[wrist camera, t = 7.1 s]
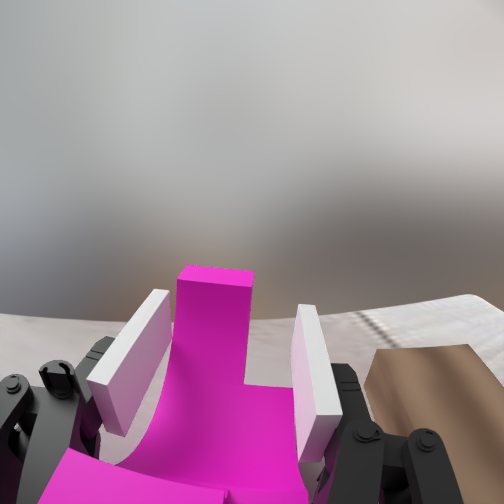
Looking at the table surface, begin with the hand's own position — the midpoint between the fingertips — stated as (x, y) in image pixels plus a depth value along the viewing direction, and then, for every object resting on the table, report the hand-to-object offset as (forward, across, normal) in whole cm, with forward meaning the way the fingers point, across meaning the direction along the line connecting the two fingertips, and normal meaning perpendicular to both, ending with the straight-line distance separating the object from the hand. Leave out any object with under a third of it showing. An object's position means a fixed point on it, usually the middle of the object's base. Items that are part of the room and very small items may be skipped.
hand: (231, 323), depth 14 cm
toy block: (-4, 0, -6) cm, 8 cm away
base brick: (-5, +16, -9) cm, 19 cm away
